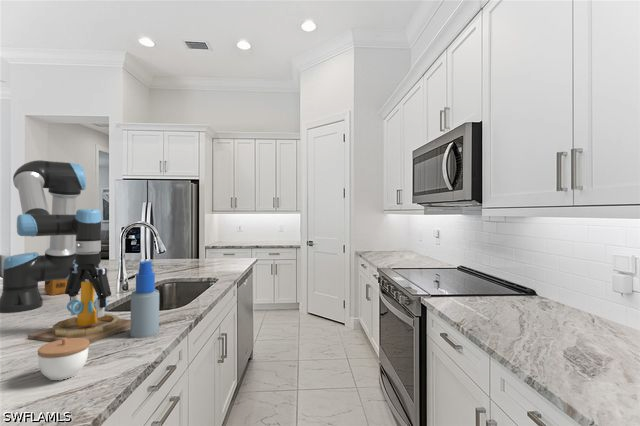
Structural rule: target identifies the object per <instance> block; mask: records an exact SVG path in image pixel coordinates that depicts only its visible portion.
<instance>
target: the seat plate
mask: <svg viewBox="0 0 640 426" xmlns="http://www.w3.org/2000/svg"><path fill="white" fill-rule="evenodd" d="M109 322H111V321H104V320H98V321H97V323H95V324H93V325H88V326H78V325H77V323H75V324H72V325H69V326H66V327H63V328H62V329H86V328H91V327H96V326H101V325H104V324H107V323H109ZM130 327H131V319H127V318H119V324H118V325H117V326H116V328H113V329H111V330H108V331H105V332H102V333H97V334H93V335H88V336H78V337H62V336H55V335H54V333H53V326H52V327H50V328H45V329H43V330H41V331H37V332H34V333H30V334H27V339H28V340H34V341H43V342H48V343H50V342H54V341H57V340H62V339H63V338H67V339H69V338H84V339H87V340H89V345H90V343H91V344H93V343H95V342H98V341H101V340H103V339H105V338H108V337H109V336H112V335H115V334H117V333H120V332H123V331H124V330H127V329H130Z"/></svg>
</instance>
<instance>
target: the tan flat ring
mask: <svg viewBox="0 0 640 426" xmlns="http://www.w3.org/2000/svg"><path fill="white" fill-rule="evenodd" d="M119 319H120V317H119V316H117V315H116V314H108V313H105V314H104V316H103V317H100V318H97V321H98V320H104V321H111V322H109V323H107V324H104V325H101V326H96V327H91V328H86V329H62V328H63V327H66V326H69V325H72V324H75V323H77V316H73V317H70V318H67V319H63V320H61V321H58V322H57V323H55V324H54V325H52V327H53V333H54V335H55V336H62V337H78V336H88V335H93V334H97V333H102V332H105V331H108V330H111V329H113V328H116V326H117V325H118V324H119Z"/></svg>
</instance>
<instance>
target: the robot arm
mask: <svg viewBox="0 0 640 426" xmlns="http://www.w3.org/2000/svg"><path fill="white" fill-rule="evenodd" d="M86 179H87V178H86V172H85V170H84V168H83V166H82V165H80V164H79V163H74V162H73V163H72V162H63V161H51V160H50V161H49V160H42V159H41V160H40V159H39V160H32V161H29V162H27V163H24V164H22V165H21V166H19V167H18V168H17V169H16V171H15V172H14V174H13V177H12V180H13V185H14V187H15V188H16V189H17V191H18V196H19V201H20V208H21V214H18V215H17V216H16V233H17V235H18V236H20V237H47V236H49V247H48V248H47V249H45V251H44V254H42V255H41V254H39V252H34V251H33V252H24V253H19V254H18V253H17V254H13V255H9V256H6V257H5V258H4V259H3V264H2V268H1V270H3V271H2V292H1V295H0V313H16V312H18V313H19V312H24V311H30V310H35V309H38V308H41V307H42V306H43V303H44V300H43V298H42V297H43V296H42V295H41V292H40V289H39V282H45V281H51V280H65V279H68V282H67V286H66V290H65V294H64V295H68V296H69V302H70V301H72V300H78V301H79V302H81V294H80V291H81V281H86V280H89V281H90V282H91V283H92V285H93V287H94V289H95V293H96V295H97V296H98V298H97V299H96V300H95V301H96V318H100V317H103V316H104V314H106V313H105V309H106V308H105V306H106V301H107V298H108V297H110V296H111V297H112V291H111V287H110V283H109V279H108V275H107V273H108V269H107V268H105V267H104V268H100V264H101V262H102V254H101V253H100V252H101V250H102V220H103V219H102V212H101V210H100V209H88V208H87V209H86V208H85V209H84V208H83V209H82V208H80V209H77V210H76V206H77V205H76V204H77V197H79V196H81V192H82V191H84V190H86V187H87V180H86ZM44 189H48V193H49V195H51V196H52V199H51V200H52V201H51V214H50V211H49V206H48V205H49V204H48V201H47V198H46V194H45V191H44ZM74 236H75V248H74ZM69 289H70V290H69ZM97 296H96V297H97ZM75 303H76V302H73V303H71V304H70V309H72V306H73V305H74V304H75ZM78 307H79V305H78V304H77V305H76V306H75V310H76V309H78ZM77 312H78V311H77ZM75 315H76V316H77V314H73V313H72V312H70V316H75Z"/></svg>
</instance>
